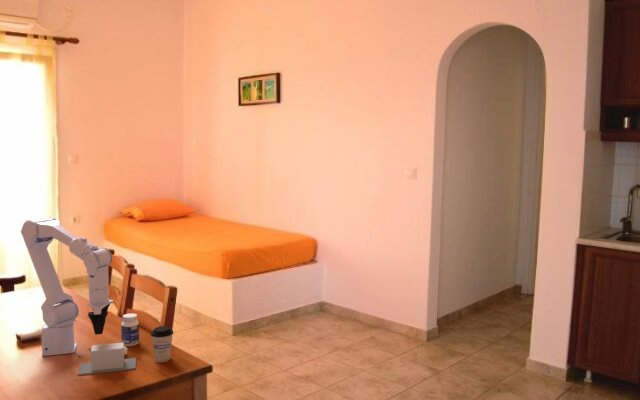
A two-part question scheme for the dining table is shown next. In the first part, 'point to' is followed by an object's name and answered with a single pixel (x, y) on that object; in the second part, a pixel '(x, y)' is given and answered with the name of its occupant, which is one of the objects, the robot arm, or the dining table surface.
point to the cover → (107, 356)
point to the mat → (86, 369)
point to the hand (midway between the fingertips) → (99, 329)
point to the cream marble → (125, 350)
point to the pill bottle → (130, 330)
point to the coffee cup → (162, 343)
